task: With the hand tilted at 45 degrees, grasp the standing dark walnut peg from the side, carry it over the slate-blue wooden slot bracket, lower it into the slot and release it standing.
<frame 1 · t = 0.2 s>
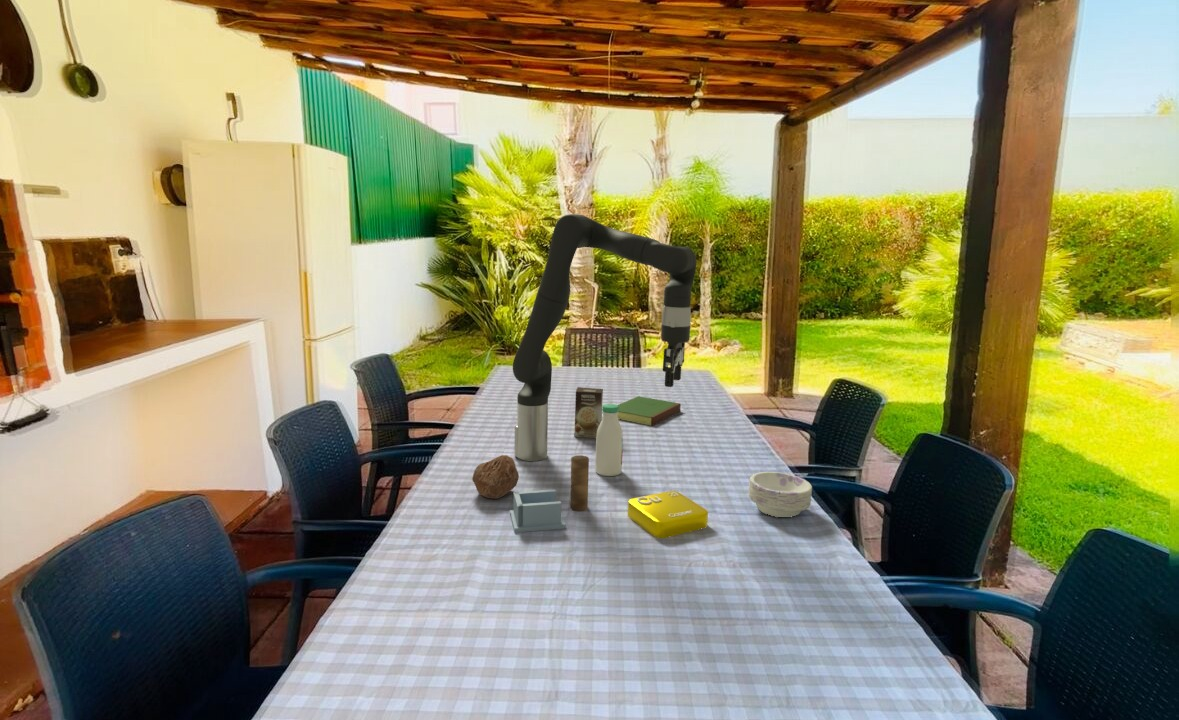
hand: (672, 383, 173), 29 cm above the table, tool pointing down, fingers open, 8 cm apart
decorative rock: (496, 494, 170), on the table
paper bowls: (777, 511, 163), on the table
coffee box: (587, 435, 221), on the table
element tile: (666, 522, 156), on the table
milk bottle: (608, 472, 187), on the table
slate bracket: (537, 521, 154), on the table
hardcover book: (645, 415, 249), on the table
walnut peg: (579, 507, 162), on the table
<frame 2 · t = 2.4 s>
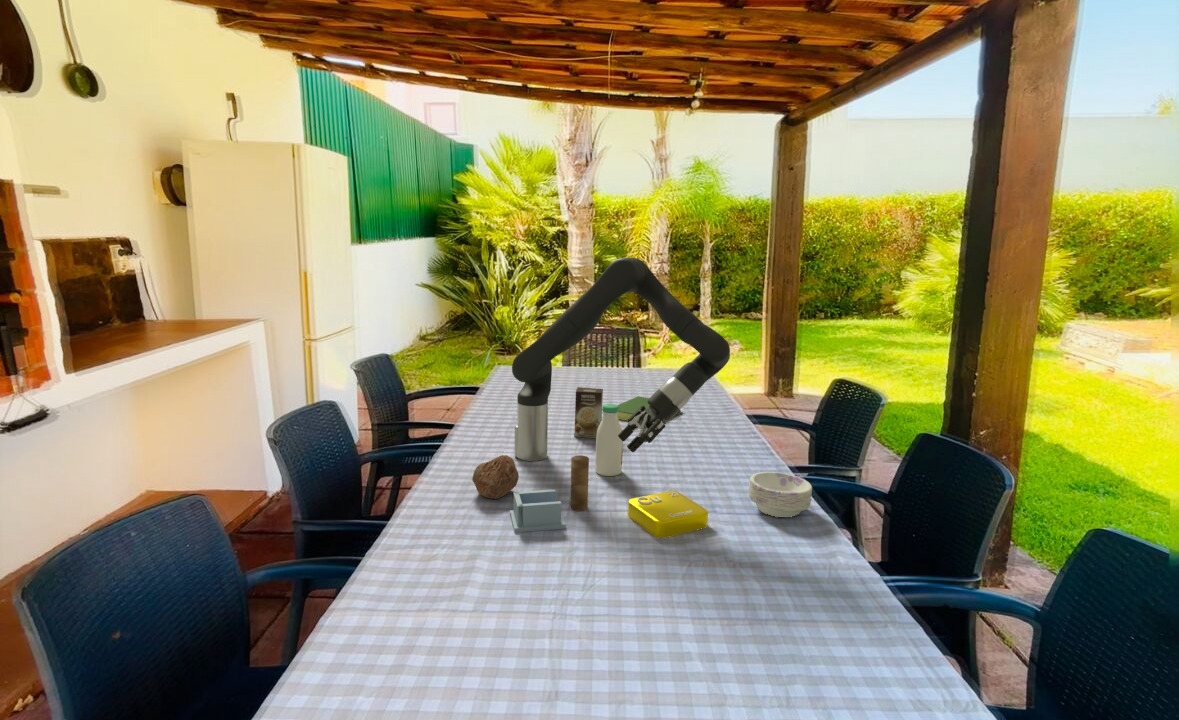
hand: (625, 444, 162), 16 cm above the table, tool tilted 45°, fingers open, 8 cm apart
nothing on the table moved.
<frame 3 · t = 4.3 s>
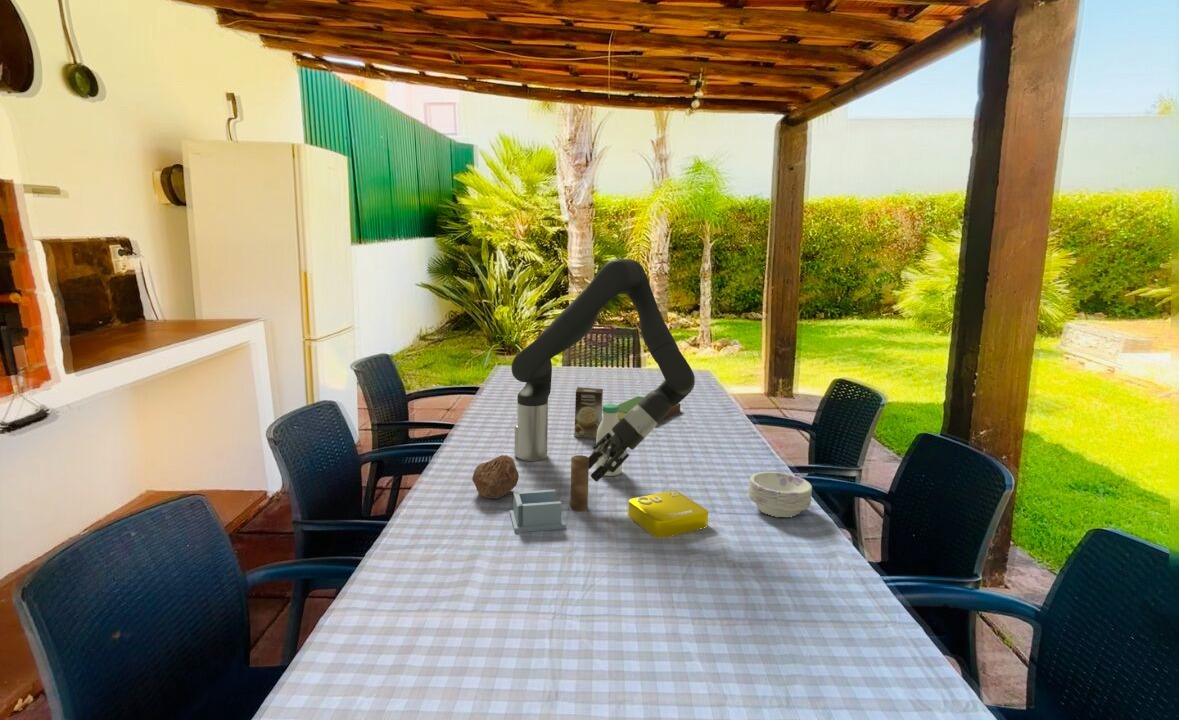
hand: (589, 472, 161), 9 cm above the table, tool tilted 45°, fingers open, 8 cm apart
nothing on the table moved.
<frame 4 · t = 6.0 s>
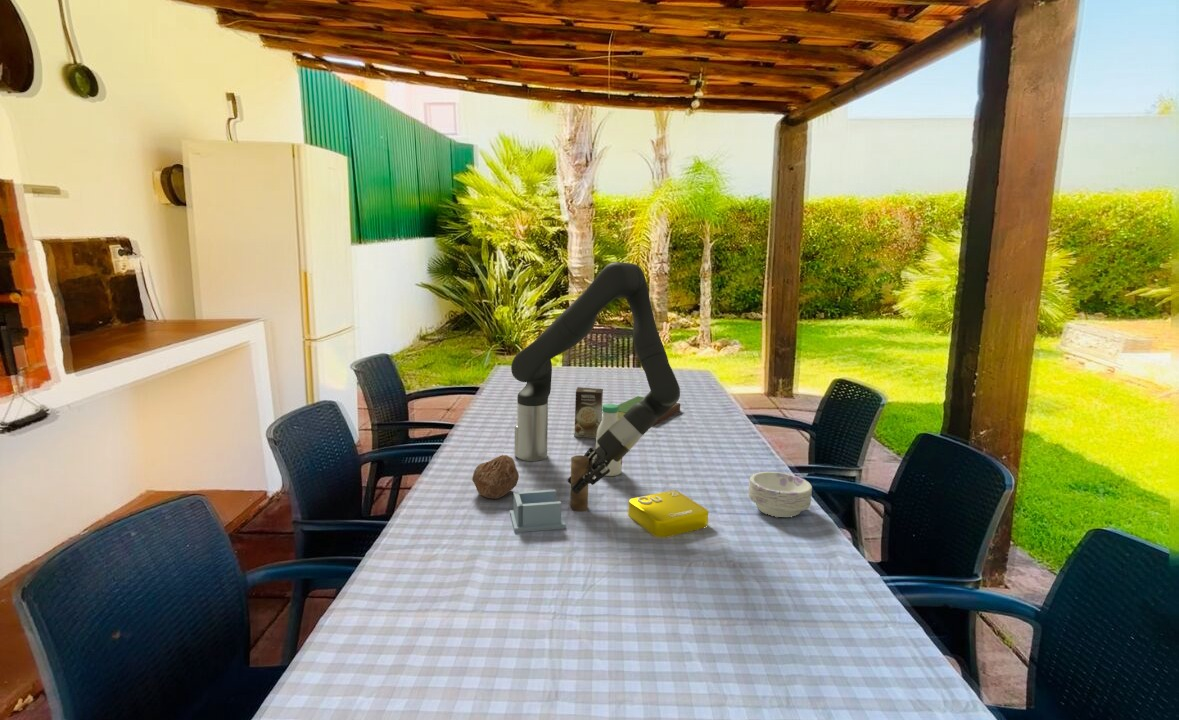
hand: (572, 487, 161), 6 cm above the table, tool tilted 45°, fingers closed on walnut peg, 4 cm apart
walnut peg: (579, 507, 162), on the table, touching gripper
everything else where it was.
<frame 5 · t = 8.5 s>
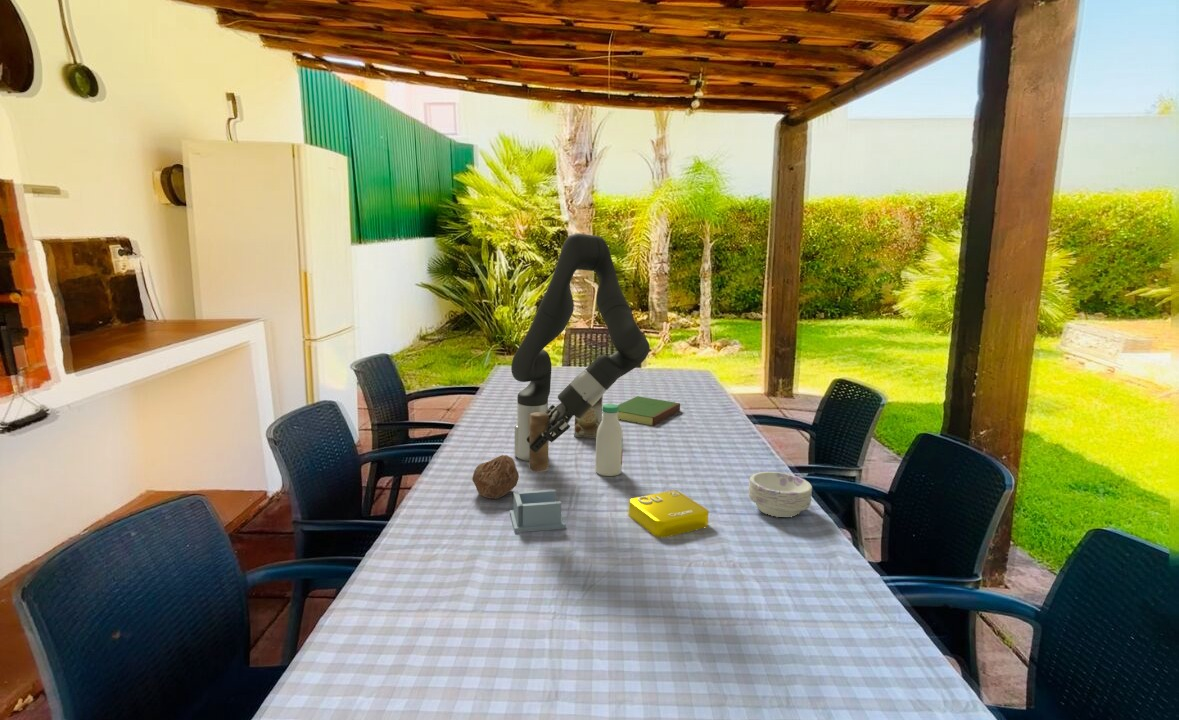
hand: (530, 445, 150), 19 cm above the table, tool tilted 45°, fingers closed on walnut peg, 4 cm apart
walnut peg: (538, 467, 152), point 13 cm above the table, touching gripper
everything else where it was.
when the fingers open (8 cm above the table, at t = 10.9 s): walnut peg drops 1 cm, resting on slate bracket.
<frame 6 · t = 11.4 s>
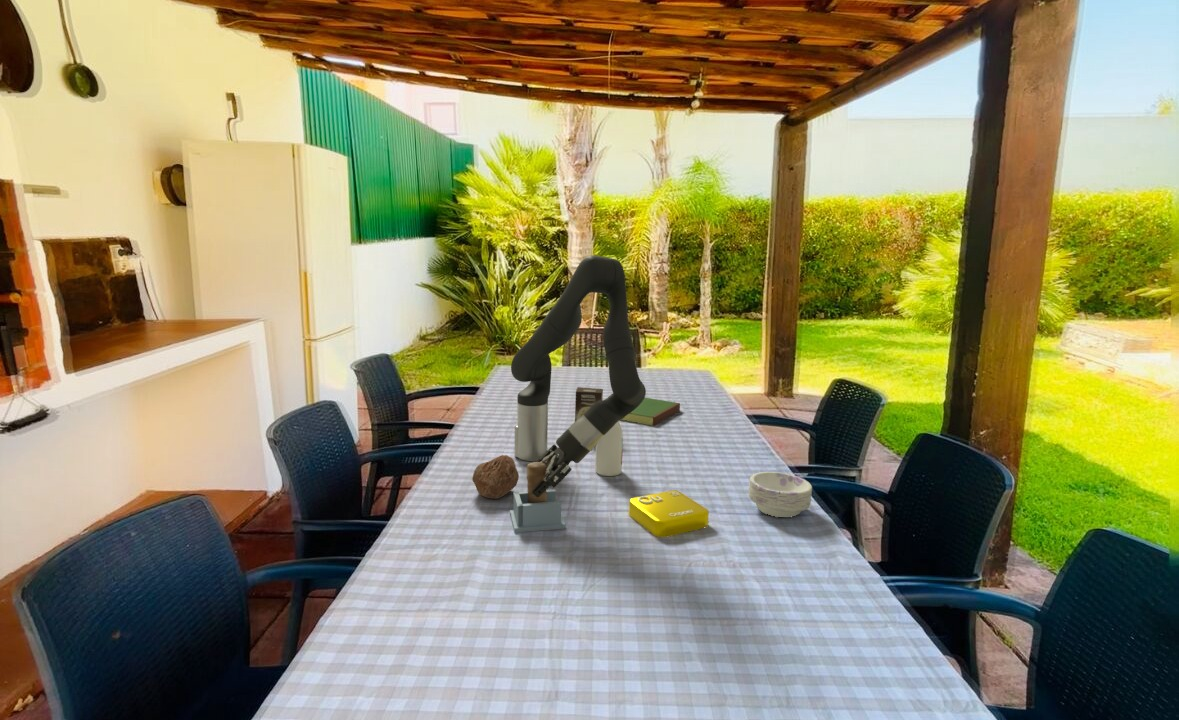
hand: (531, 487, 152), 9 cm above the table, tool tilted 45°, fingers open, 8 cm apart
walnut peg: (537, 516, 154), point 1 cm above the table, touching slate bracket
everything else where it was.
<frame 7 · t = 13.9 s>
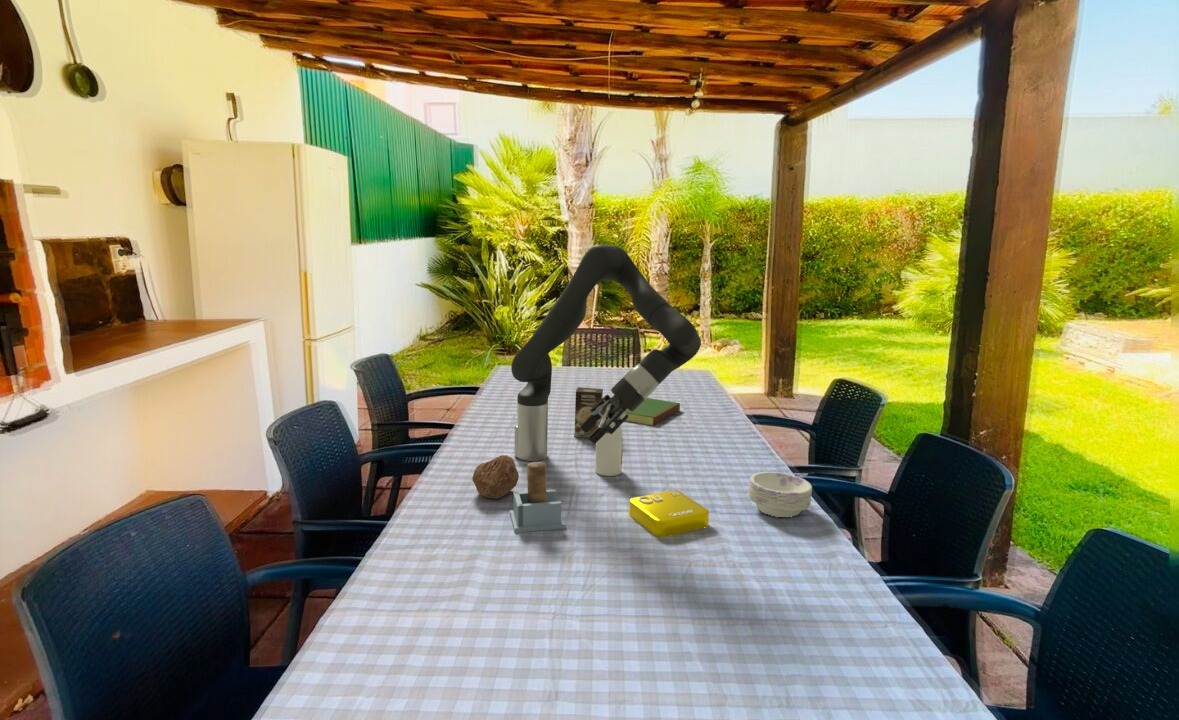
hand: (586, 435, 153), 21 cm above the table, tool tilted 45°, fingers open, 8 cm apart
nothing on the table moved.
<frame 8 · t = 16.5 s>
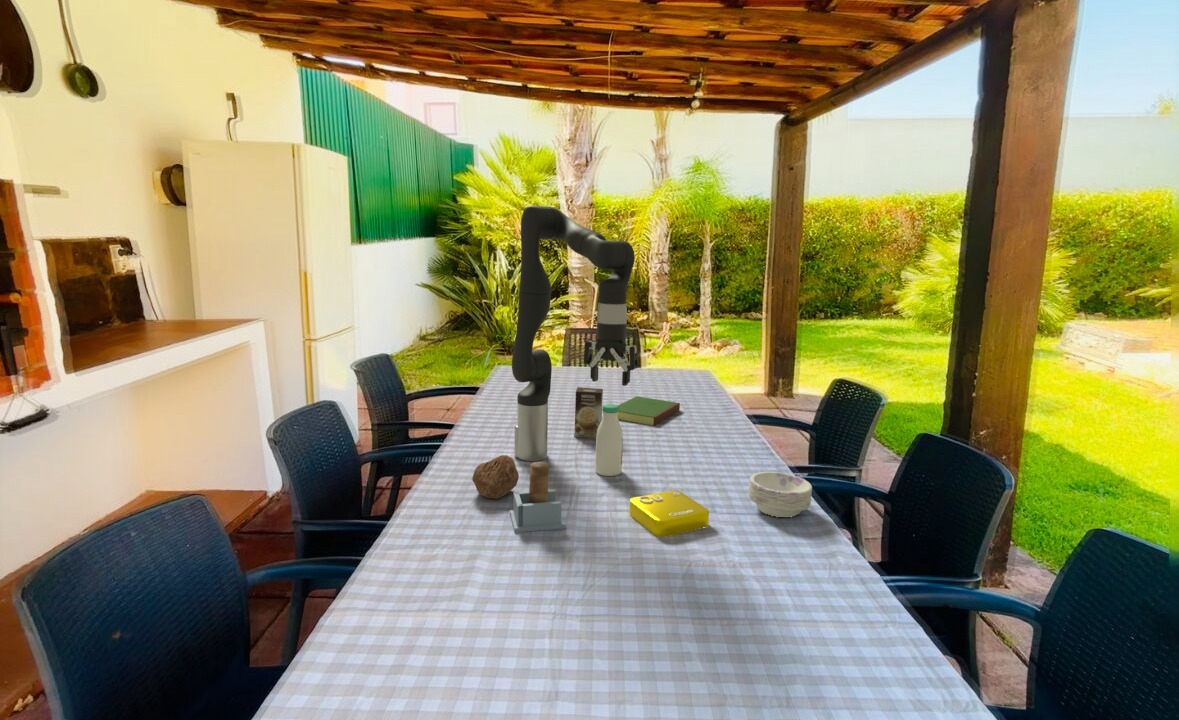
hand: (609, 383, 166), 30 cm above the table, tool pointing down, fingers open, 8 cm apart
nothing on the table moved.
at the end: walnut peg 0.1 cm off-centre on the slate bracket, point 1.1 cm above the slate bracket's base; walnut peg tilted 2°; the gripper is holding nothing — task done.
